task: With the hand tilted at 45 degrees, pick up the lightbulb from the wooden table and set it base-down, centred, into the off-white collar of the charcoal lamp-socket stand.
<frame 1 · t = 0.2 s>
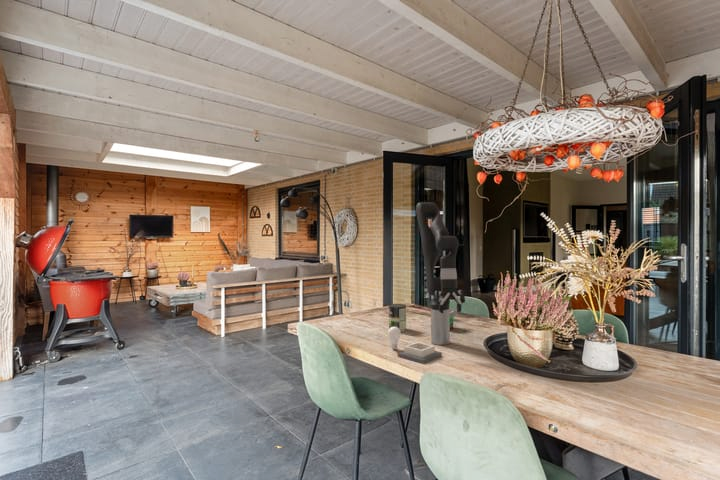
hand: (450, 312, 173), 18 cm above the table, tool pointing down, fingers open, 8 cm apart
lightbulb: (394, 349, 177), on the table
socket stand: (419, 356, 167), on the table
coffee can: (397, 329, 215), on the table
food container: (448, 329, 214), on the table
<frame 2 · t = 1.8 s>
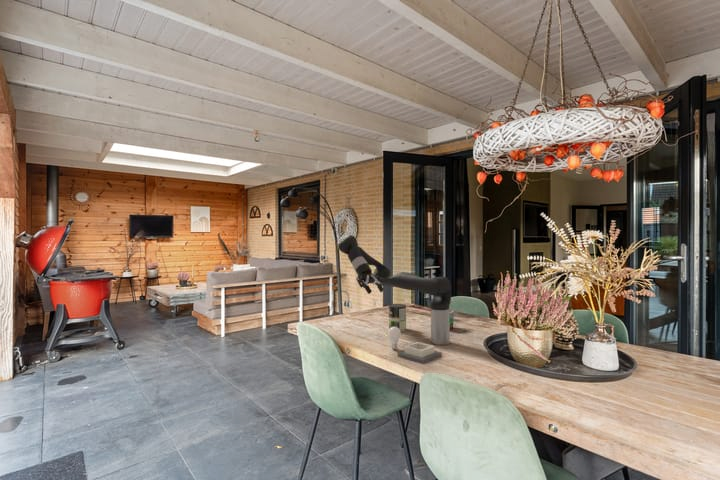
hand: (376, 292, 185), 27 cm above the table, tool tilted 40°, fingers open, 8 cm apart
nothing on the table moved.
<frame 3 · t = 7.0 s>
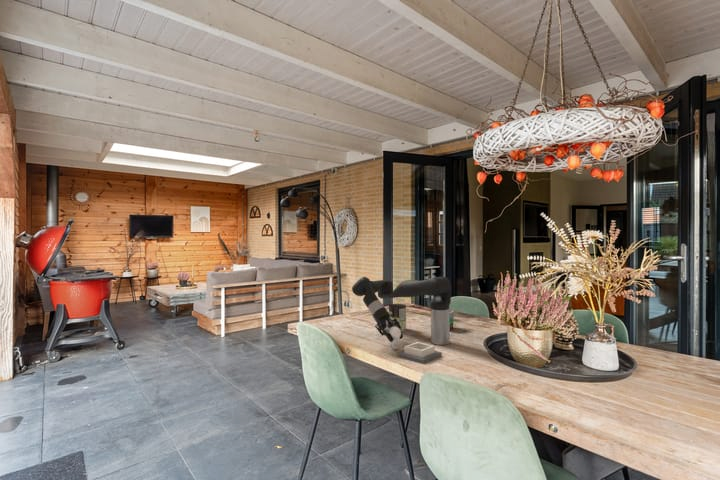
hand: (397, 339, 176), 5 cm above the table, tool tilted 45°, fingers closed on lightbulb, 6 cm apart
lightbulb: (394, 349, 177), on the table, touching gripper
everything else where it was.
when the fingers open (8 cm above the table, at t = 13.3 s): lightbulb drops 1 cm, resting on socket stand.
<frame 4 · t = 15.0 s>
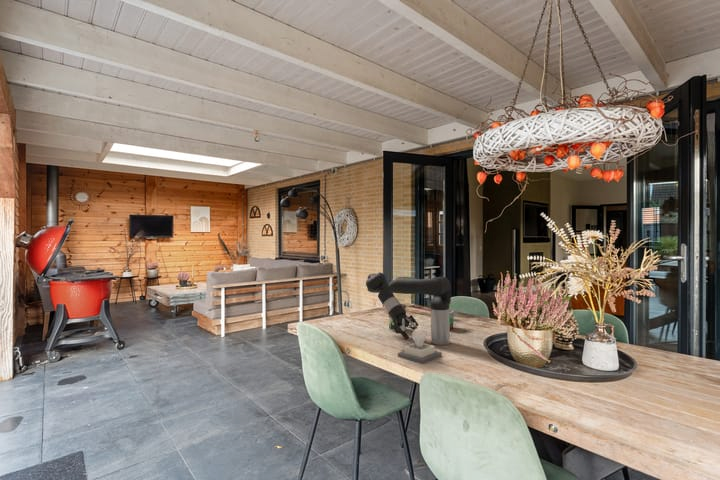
hand: (413, 337, 168), 8 cm above the table, tool tilted 45°, fingers open, 8 cm apart
lightbulb: (419, 352, 167), point 1 cm above the table, touching socket stand
everything else where it was.
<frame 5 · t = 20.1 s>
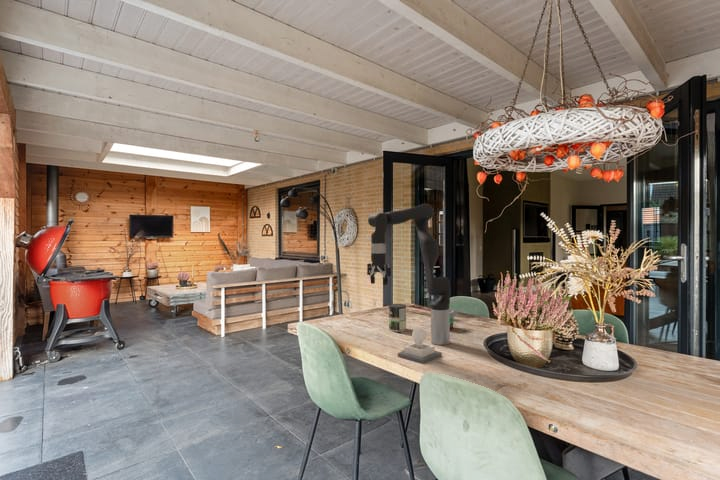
hand: (378, 284, 188), 30 cm above the table, tool pointing down, fingers open, 8 cm apart
nothing on the table moved.
at the end: lightbulb 0.2 cm off-centre on the socket stand, point 1.4 cm above the socket stand's base; lightbulb tilted 0°; the gripper is holding nothing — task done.
